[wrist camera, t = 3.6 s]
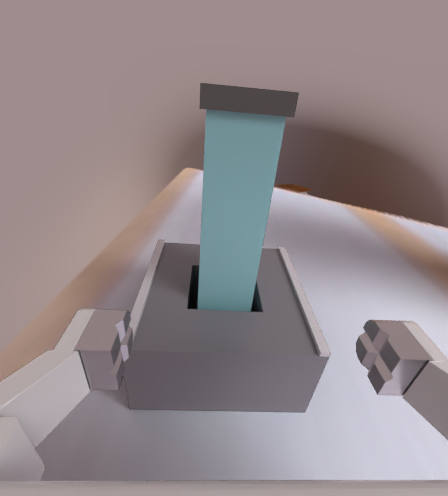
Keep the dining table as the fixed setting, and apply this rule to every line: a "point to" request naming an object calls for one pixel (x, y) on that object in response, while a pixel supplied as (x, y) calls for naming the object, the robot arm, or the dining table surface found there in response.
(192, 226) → the dining table surface
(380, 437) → the dining table surface
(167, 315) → the grey socket base
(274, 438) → the dining table surface
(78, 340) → the robot arm
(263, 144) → the plug
